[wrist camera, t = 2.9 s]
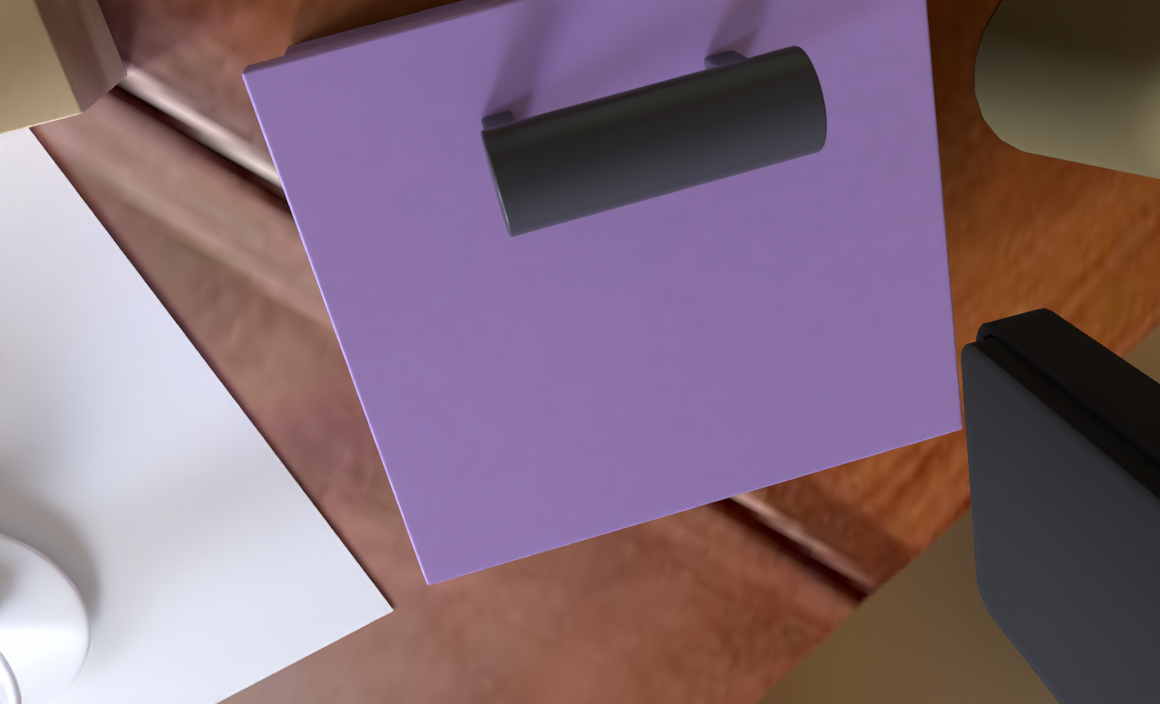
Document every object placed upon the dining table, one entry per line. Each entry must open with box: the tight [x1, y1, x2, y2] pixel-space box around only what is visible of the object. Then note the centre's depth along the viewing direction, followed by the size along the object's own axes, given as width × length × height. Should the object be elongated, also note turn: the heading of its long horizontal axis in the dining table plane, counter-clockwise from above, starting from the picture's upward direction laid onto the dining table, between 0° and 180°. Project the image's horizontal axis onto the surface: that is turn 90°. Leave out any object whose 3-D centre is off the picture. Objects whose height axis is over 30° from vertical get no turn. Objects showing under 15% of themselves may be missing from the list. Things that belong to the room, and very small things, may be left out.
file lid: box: [242, 0, 963, 585], centre depth 24 cm, size 13×15×6 cm
